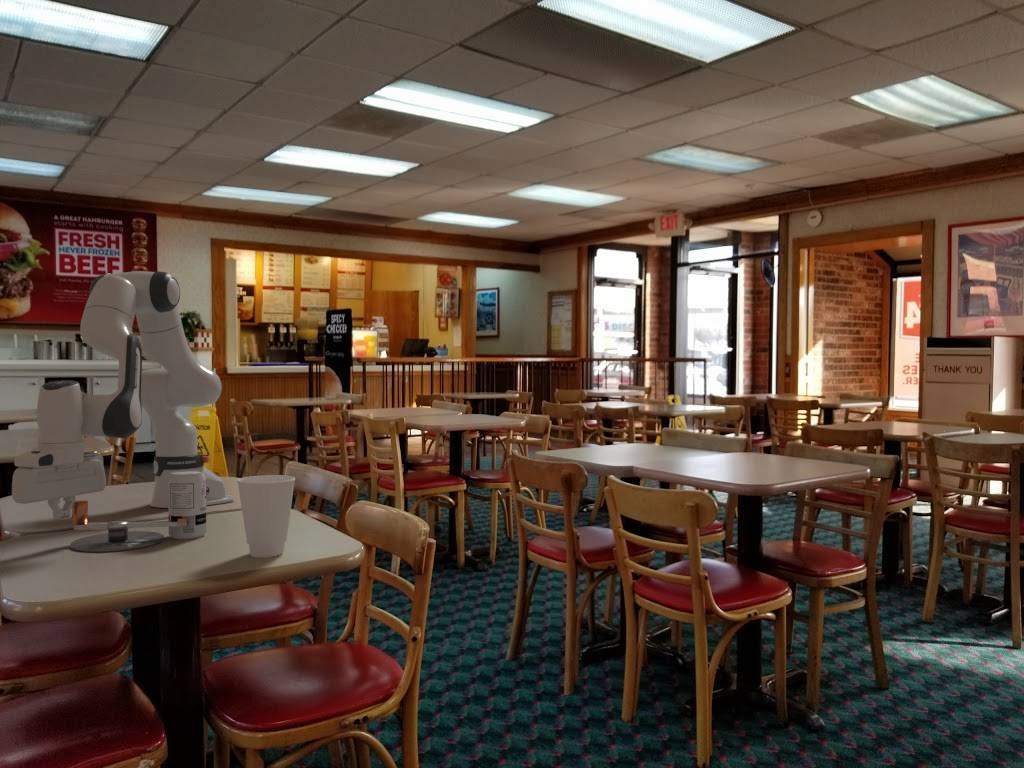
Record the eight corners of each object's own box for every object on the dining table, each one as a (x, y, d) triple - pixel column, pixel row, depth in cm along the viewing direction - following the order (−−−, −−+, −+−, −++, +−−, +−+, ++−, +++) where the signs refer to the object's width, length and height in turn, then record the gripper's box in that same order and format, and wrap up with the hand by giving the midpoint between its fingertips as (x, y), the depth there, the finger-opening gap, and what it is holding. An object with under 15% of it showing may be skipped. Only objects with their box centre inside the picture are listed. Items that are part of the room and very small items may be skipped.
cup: (240, 562, 164) (239, 484, 164) (235, 550, 175) (234, 476, 175) (300, 557, 169) (299, 480, 169) (291, 545, 180) (291, 473, 180)
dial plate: (149, 530, 196) (148, 518, 196) (175, 543, 182) (175, 530, 182) (61, 541, 184) (61, 528, 184) (82, 556, 169) (82, 542, 169)
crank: (189, 524, 187) (189, 497, 187) (185, 528, 183) (184, 500, 182) (76, 527, 183) (75, 500, 183) (68, 531, 179) (68, 503, 179)
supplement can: (162, 536, 189) (161, 472, 189) (196, 531, 195) (196, 469, 195) (178, 541, 184) (177, 475, 183) (212, 536, 190) (212, 472, 189)
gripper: (92, 449, 188) (93, 508, 188) (6, 459, 169) (7, 525, 169) (112, 450, 185) (112, 510, 185) (26, 460, 166) (27, 527, 167)
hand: (61, 517), depth 177 cm, fingers closed
